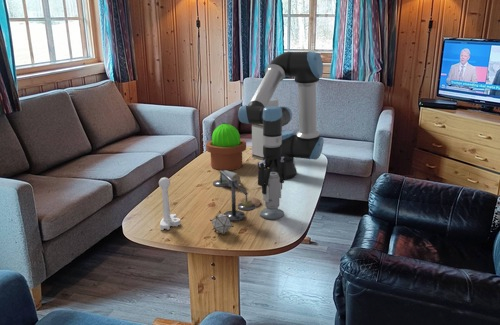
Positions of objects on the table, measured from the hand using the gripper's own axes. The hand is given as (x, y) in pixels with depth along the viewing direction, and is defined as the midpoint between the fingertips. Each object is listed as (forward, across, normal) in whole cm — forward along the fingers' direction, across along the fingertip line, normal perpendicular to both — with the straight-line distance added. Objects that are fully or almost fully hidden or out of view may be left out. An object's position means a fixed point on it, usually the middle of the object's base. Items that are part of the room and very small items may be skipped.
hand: (272, 198), depth 188 cm
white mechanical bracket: (+7, -38, +18) cm, 43 cm away
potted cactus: (+7, +24, +69) cm, 73 cm away
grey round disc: (+7, 0, 0) cm, 7 cm away
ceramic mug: (+7, +8, +41) cm, 42 cm away
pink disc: (+7, 0, +16) cm, 18 cm away
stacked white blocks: (+7, +52, +69) cm, 87 cm away
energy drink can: (+4, 0, 0) cm, 4 cm away
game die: (+7, -26, -1) cm, 27 cm away
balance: (+7, -14, +8) cm, 18 cm away
